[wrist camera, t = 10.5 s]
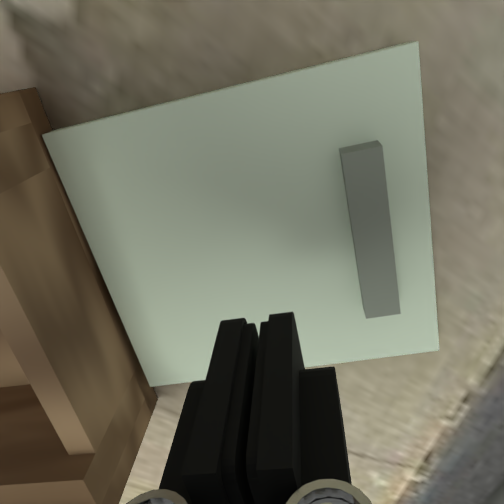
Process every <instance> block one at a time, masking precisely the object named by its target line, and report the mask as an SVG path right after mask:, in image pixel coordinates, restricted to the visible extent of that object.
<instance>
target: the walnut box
mask: <svg viewBox="0 0 504 504" xmlns="http://www.w3.org/2000/svg"><path fill="white" fill-rule="evenodd" d="M51 131H52V129H51V126H50V124H49V121H48V118H47V116H46V113H45V111H44V108H43V106H42V103H41V101H40V98H39V95H38V93H37V90H36V88H29V89H24V90H18V91H13V92H7V93H2V94H0V504H119V502H120V499H121V496H122V494H123V491H124V488H125V485H126V483H127V480H128V477H129V475H130V472H131V469H132V467H133V464H134V461H135V459H136V456H137V453H138V451H139V448H140V445H141V443H142V440H143V437H144V435H145V432H146V429H147V427H148V424H149V421H150V419H151V416H152V413H153V410H154V408H155V405H156V402H157V400H158V399H157V396H156V394H155V391H154V389H153V387H150V385H149V383H148V381H147V378H146V376H145V374H144V371H143V369H142V367H141V365H140V362H139V360H138V358H137V355H136V353H135V351H134V348H133V346H132V344H131V341H130V339H129V337H128V334H127V332H126V330H125V327H124V325H123V323H122V320H121V318H120V316H119V313H118V311H117V309H116V306H115V304H114V302H113V299H112V297H111V295H110V292H109V290H108V288H107V286H106V283H105V281H104V279H103V276H102V274H101V272H100V269H99V267H98V265H97V262H96V260H95V258H94V255H93V253H92V251H91V248H90V246H89V244H88V241H87V239H86V237H85V234H84V232H83V230H82V227H81V225H80V223H79V220H78V218H77V216H76V213H75V211H74V209H73V207H72V204H71V202H70V200H69V197H68V195H67V193H66V190H65V188H64V186H63V183H62V181H61V179H60V176H59V174H58V172H57V169H56V167H55V165H54V162H53V160H52V158H51V155H50V153H49V151H48V148H47V146H46V144H45V141H44V139H43V137H42V134H45V133H48V132H51Z"/></svg>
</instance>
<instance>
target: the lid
mask: <svg viewBox="0 0 504 504" xmlns="http://www.w3.org/2000/svg"><path fill="white" fill-rule="evenodd" d="M42 137H43V139H44V141H45V144H46V146H47V148H48V151H49V153H50V155H51V158H52V160H53V162H54V165H55V167H56V169H57V172H58V174H59V176H60V179H61V181H62V183H63V186H64V188H65V190H66V193H67V195H68V197H69V200H70V202H71V204H72V207H73V209H74V211H75V213H76V216H77V218H78V220H79V223H80V225H81V227H82V230H83V232H84V234H85V237H86V239H87V241H88V244H89V246H90V248H91V251H92V253H93V255H94V258H95V260H96V262H97V265H98V267H99V269H100V272H101V274H102V276H103V279H104V281H105V283H106V286H107V288H108V290H109V292H110V295H111V297H112V299H113V302H114V304H115V306H116V309H117V311H118V313H119V316H120V318H121V320H122V323H123V325H124V327H125V330H126V332H127V334H128V337H129V339H130V341H131V344H132V346H133V348H134V351H135V353H136V355H137V358H138V360H139V362H140V365H141V367H142V369H143V371H144V374H145V376H146V378H147V381H148V383H149V385H150V387H154V386H162V385H170V384H178V383H186V382H193V381H200V380H206V376H207V372H208V368H209V364H210V360H211V356H212V352H213V348H214V344H215V340H216V336H217V332H218V329H219V325H220V322H221V321H222V320H230V319H237V318H245V319H246V321H247V324H248V323H255V325H256V328H257V332H258V336H259V332H260V324H261V322H264V321H268V319H269V315H270V314H277V313H285V312H293V313H294V316H295V321H296V326H297V331H298V336H299V341H300V347H301V352H302V357H303V362H304V367H312V366H320V365H328V364H336V363H344V362H352V361H360V360H368V359H376V358H383V357H391V356H399V355H407V354H415V353H423V352H431V351H439V337H438V322H437V308H436V293H435V278H434V264H433V249H432V234H431V219H430V205H429V190H428V175H427V161H426V146H425V131H424V117H423V102H422V87H421V72H420V58H419V43H418V42H406V43H402V44H398V45H394V46H390V47H386V48H382V49H378V50H374V51H370V52H366V53H362V54H358V55H354V56H350V57H346V58H342V59H338V60H334V61H330V62H326V63H322V64H318V65H314V66H310V67H306V68H302V69H298V70H294V71H290V72H286V73H282V74H278V75H274V76H270V77H266V78H262V79H257V80H253V81H249V82H245V83H241V84H237V85H233V86H229V87H225V88H221V89H217V90H213V91H209V92H205V93H201V94H197V95H193V96H189V97H185V98H181V99H177V100H173V101H169V102H165V103H161V104H157V105H153V106H149V107H145V108H141V109H137V110H133V111H129V112H125V113H121V114H117V115H113V116H109V117H105V118H101V119H96V120H92V121H88V122H84V123H80V124H76V125H72V126H68V127H64V128H60V129H56V130H53V131H51V132H48V133H45V134H42Z"/></svg>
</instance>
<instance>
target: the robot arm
mask: <svg viewBox="0 0 504 504" xmlns="http://www.w3.org/2000/svg"><path fill="white" fill-rule="evenodd" d="M126 504H372V503H371V501H370V499H369V498H368V497H367V496H366V495H365V494H364V493H363V492H362V491H361V490H360V489H358V488H356V487H355V486H353V485H352V484H351V477H350V469H349V462H348V454H347V447H346V440H345V432H344V425H343V418H342V411H341V404H340V398H339V391H338V385H337V379H336V372H335V367H325V368H315V369H306V370H305V367H304V362H303V357H302V352H301V347H300V341H299V336H298V331H297V326H296V321H295V316H294V313H293V312H285V313H277V314H270V315H269V319H268V321H264V322H261V324H260V332H259V336H258V332H257V328H256V325H255V323H248V324H247V321H246V319H245V318H237V319H230V320H222V321H221V322H220V325H219V329H218V332H217V336H216V340H215V344H214V348H213V352H212V356H211V360H210V364H209V368H208V372H207V376H206V380H200V381H193V382H192V383H191V384H190V386H189V389H188V392H187V395H186V399H185V402H184V405H183V409H182V412H181V416H180V419H179V422H178V426H177V429H176V432H175V436H174V439H173V443H172V446H171V449H170V453H169V456H168V459H167V463H166V466H165V469H164V473H163V476H162V480H161V483H160V486H159V490H151V491H148V492H146V493H143V494H140V495H138V496H137V497H135V498H134V499H132V500H131V501H129V502H127V503H126Z"/></svg>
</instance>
